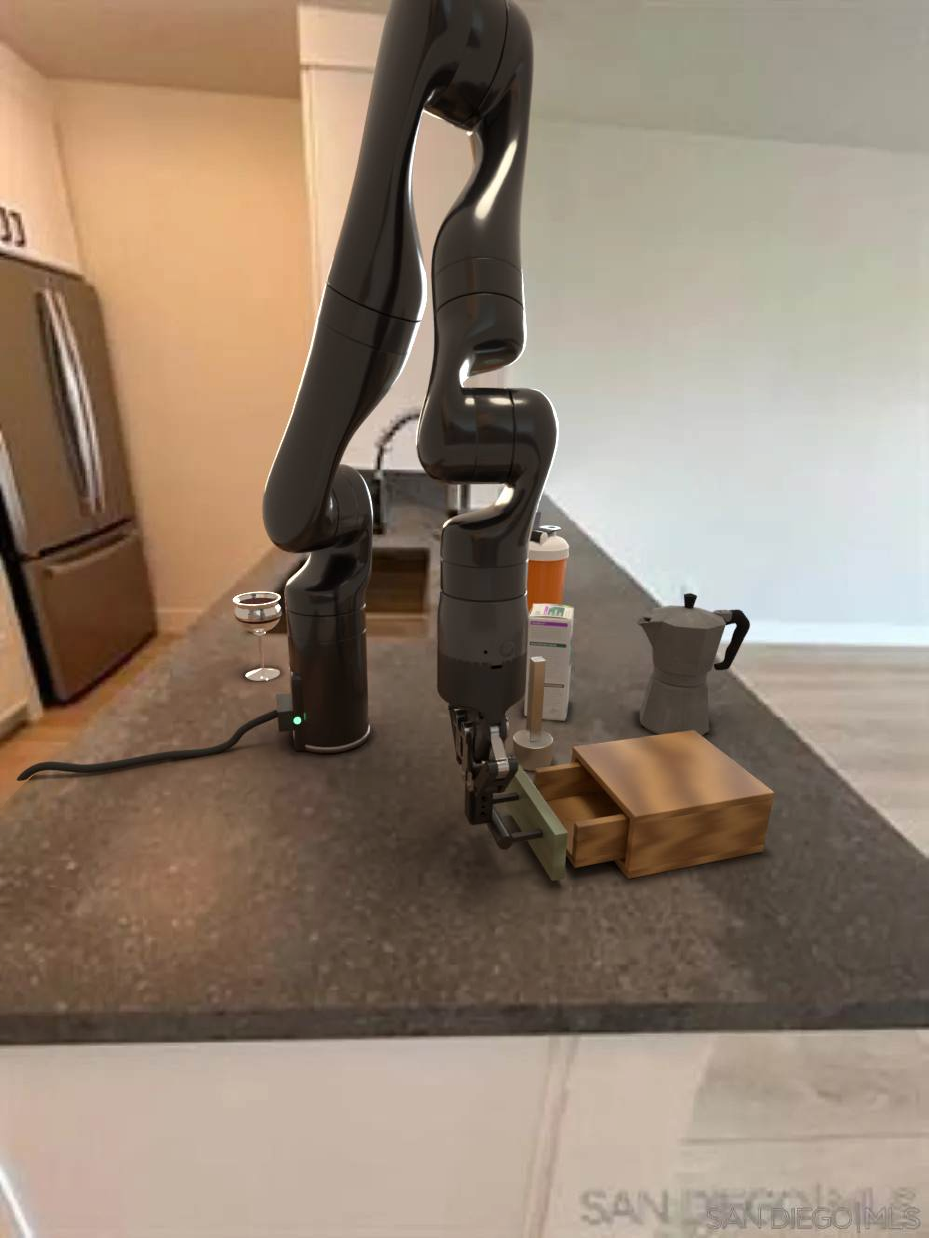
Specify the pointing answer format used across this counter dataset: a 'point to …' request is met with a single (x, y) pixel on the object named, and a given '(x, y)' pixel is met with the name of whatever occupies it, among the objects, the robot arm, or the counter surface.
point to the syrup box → (551, 655)
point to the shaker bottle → (546, 566)
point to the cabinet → (679, 800)
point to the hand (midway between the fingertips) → (478, 819)
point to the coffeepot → (685, 663)
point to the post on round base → (534, 724)
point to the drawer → (562, 818)
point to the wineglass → (258, 623)
